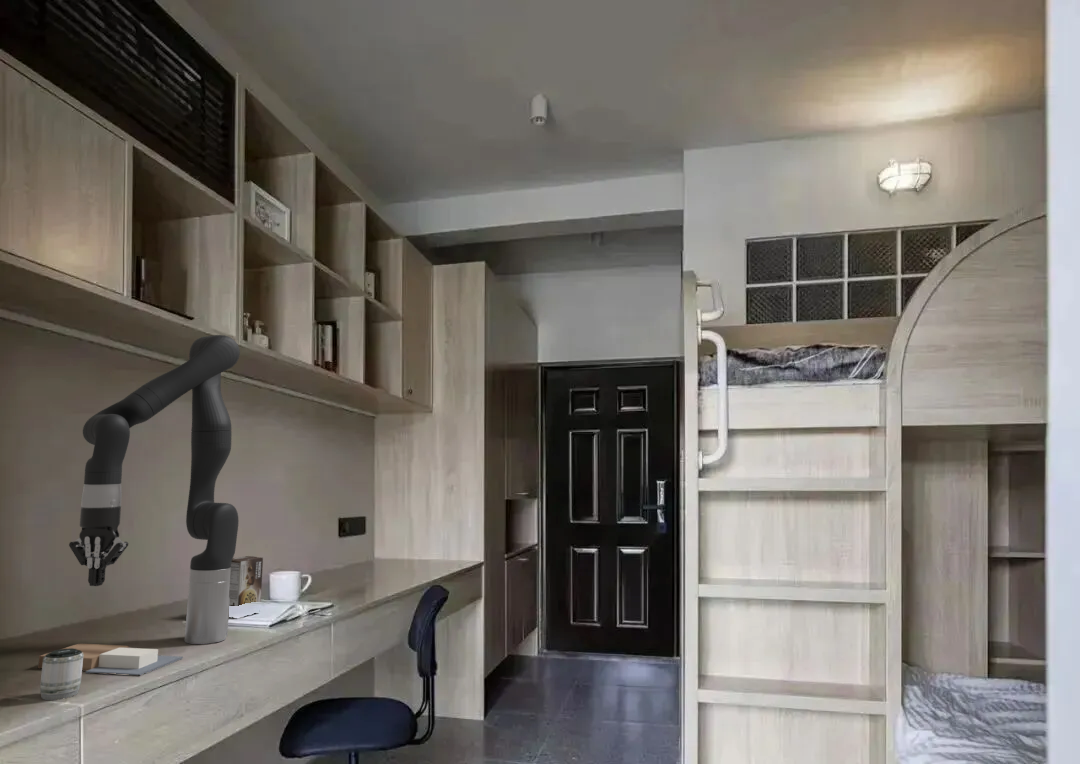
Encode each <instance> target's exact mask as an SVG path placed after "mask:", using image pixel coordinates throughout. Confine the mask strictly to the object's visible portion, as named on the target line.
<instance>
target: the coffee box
mask: <svg viewBox="0 0 1080 764" xmlns="http://www.w3.org/2000/svg"><path fill="white" fill-rule="evenodd" d="M263 565H264V557H258V556H253V555H250V556H249V555H248V556H240V557H239V556H238V557H233V559H232V562H231V571H230V587H229V598H230V604H229V606H239V605H242V604H245V603H251V602H261V603H262V589H263V588H262V586H263Z"/></svg>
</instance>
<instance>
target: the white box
mask: <svg viewBox="0 0 1080 764" xmlns="http://www.w3.org/2000/svg"><path fill="white" fill-rule="evenodd" d="M158 655H159V648H158V649H157V648H139V647H138V648H137V647H129V648H117V649H114V650H111V651H108V652H105V653H102V654H100V655H99V666H98V667H111V668H131V669H139V668H142V667H144V666H147V665H149V664H152V663H154V662H157V658H158Z"/></svg>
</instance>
